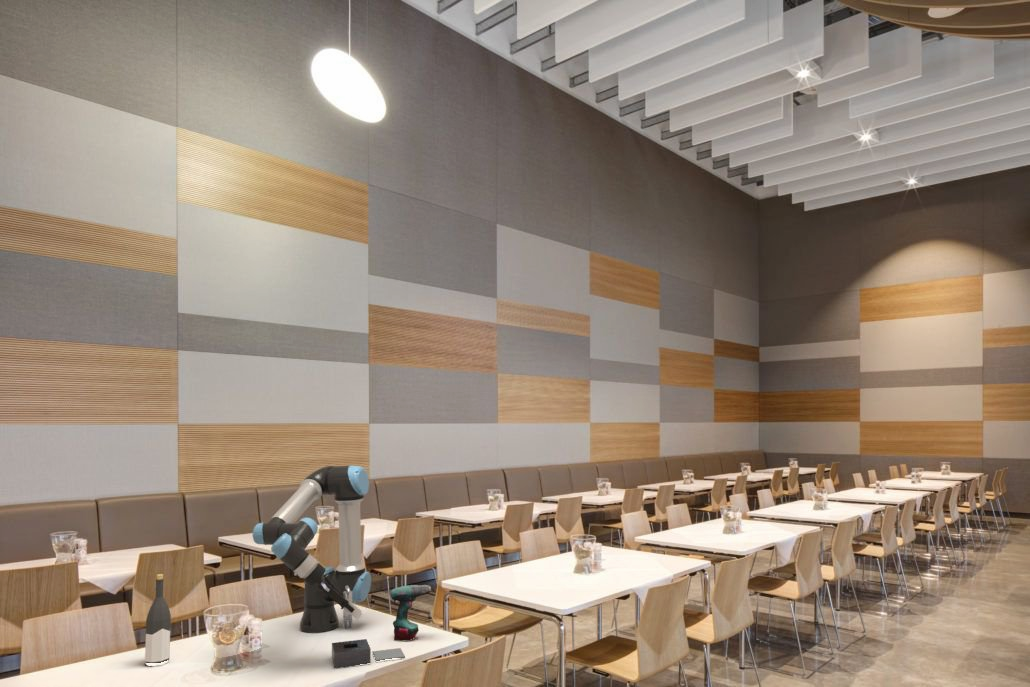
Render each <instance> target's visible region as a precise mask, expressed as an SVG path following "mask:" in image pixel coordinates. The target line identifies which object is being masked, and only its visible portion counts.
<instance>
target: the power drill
mask: <svg viewBox="0 0 1030 687" xmlns="http://www.w3.org/2000/svg"><path fill="white" fill-rule="evenodd" d="M431 592H432V587H431V586H430V585H427V584H424V585H423V584H422V585H418V584H414V585H413V584H411V585H403V586H398V587H395V588H393V589H391V590H390V594H389V595H390V598H391V600H392V601H398V602H399V605H398V608H397V612H396V616H395V620H393V622H392V625H393V635H394V636H393V641H394V640H410V641H412V640H414V639H415V638H416V637H415V636H417V633H418V632H419V625H418V623H414V622H413V621H410V620H409V619H408V612H409V609H410V608H412V607H413V602H415V601H416V599H417V598H419V597H421V596H425V595H429V594H430V593H431ZM413 638H414V639H413ZM411 639H412V640H411Z"/></svg>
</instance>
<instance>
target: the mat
mask: <svg viewBox="0 0 1030 687" xmlns="http://www.w3.org/2000/svg"><path fill="white" fill-rule="evenodd" d="M371 653H373V654H372V656H373V655H374V656H373V658H374V657H375V659H374V661H375V660H376V661H380V660H385V659H392V658H405V659H406V656H405V654H404V652H403V650H402V648H401V647H398V648H390V649H382V650H372V651H371ZM376 661H375V662H376Z"/></svg>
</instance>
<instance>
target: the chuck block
mask: <svg viewBox="0 0 1030 687" xmlns="http://www.w3.org/2000/svg"><path fill="white" fill-rule="evenodd" d="M371 653H372V651H371V647H370V644H369V642H368V639H366V638H365V639H356V640H348V641H347V640H346V641H337V642H331V661H332V660H333V661H332V664H333V669H334V668H336V669H342V668H341V667H344V668H350V667H349V666H352V667H356V666H355V665H360V664H367V663H372V661H371ZM360 666H361V665H360Z"/></svg>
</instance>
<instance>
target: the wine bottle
mask: <svg viewBox="0 0 1030 687" xmlns="http://www.w3.org/2000/svg"><path fill="white" fill-rule="evenodd" d="M164 580H165V578H164V574H162V573H160V574H156V579H155V598H154V600H153V602H152V603H151V604H150V605H151V606H150V607H149V611H148V613H147V615H146V620H145V622H146V623H145V654H144V663H145V662H146V663H161V662H164V661H167V660H169V661H170V654H171V652H170V651H171V647H170V646H171V620H172V619H171V618H172V616H171V612H170V611H171V610H170V607H169V605H168V602H167V601H166V599H165V597H164Z"/></svg>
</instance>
